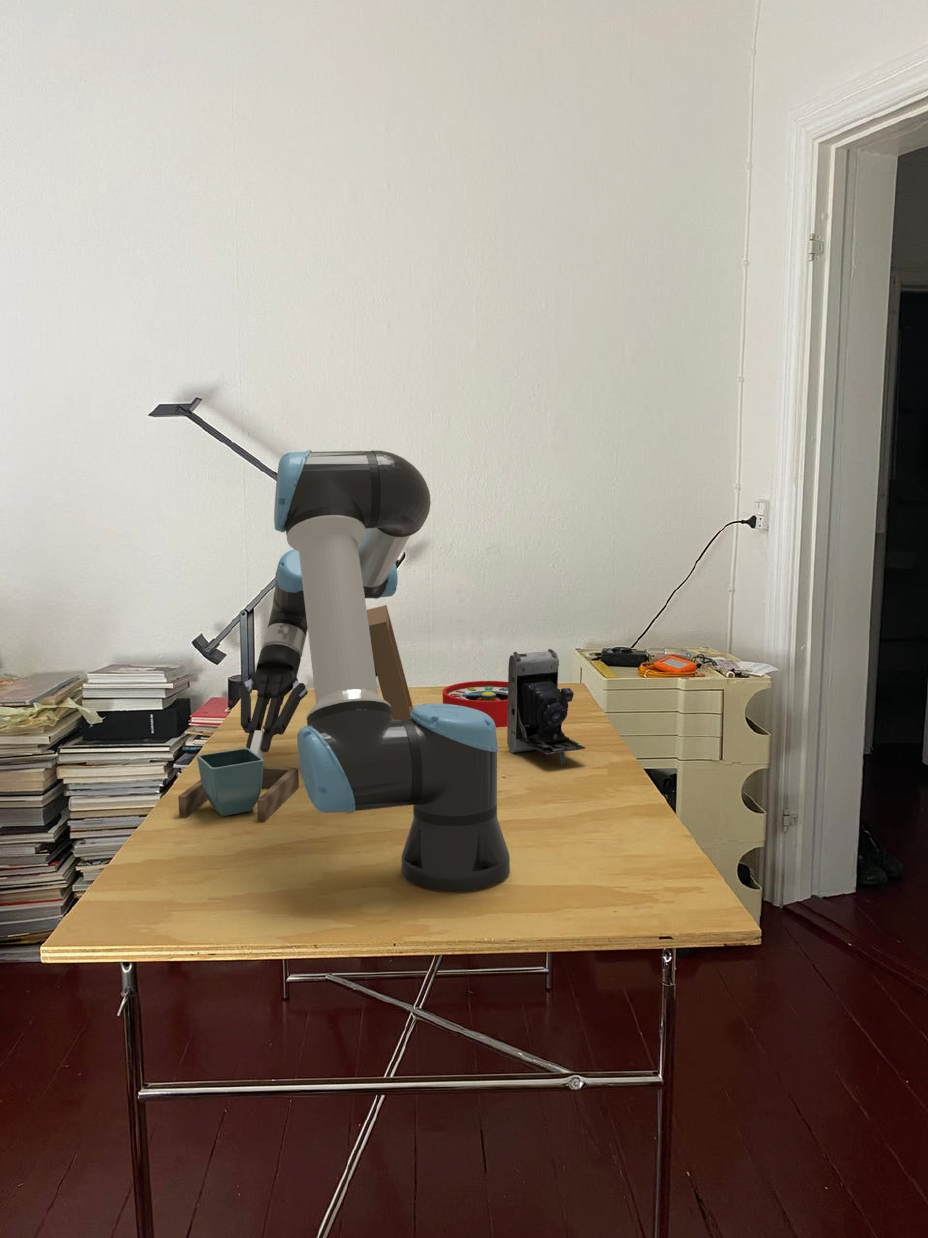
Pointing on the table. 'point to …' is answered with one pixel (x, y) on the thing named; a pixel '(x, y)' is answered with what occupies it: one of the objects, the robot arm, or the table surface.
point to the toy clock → (481, 698)
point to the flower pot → (231, 779)
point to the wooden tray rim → (280, 789)
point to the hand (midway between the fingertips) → (252, 767)
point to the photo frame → (388, 663)
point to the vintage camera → (537, 705)
